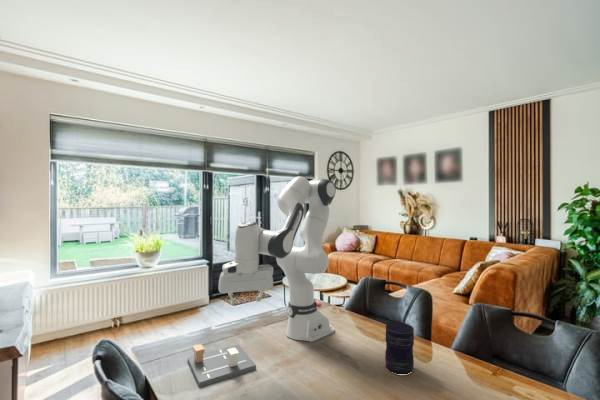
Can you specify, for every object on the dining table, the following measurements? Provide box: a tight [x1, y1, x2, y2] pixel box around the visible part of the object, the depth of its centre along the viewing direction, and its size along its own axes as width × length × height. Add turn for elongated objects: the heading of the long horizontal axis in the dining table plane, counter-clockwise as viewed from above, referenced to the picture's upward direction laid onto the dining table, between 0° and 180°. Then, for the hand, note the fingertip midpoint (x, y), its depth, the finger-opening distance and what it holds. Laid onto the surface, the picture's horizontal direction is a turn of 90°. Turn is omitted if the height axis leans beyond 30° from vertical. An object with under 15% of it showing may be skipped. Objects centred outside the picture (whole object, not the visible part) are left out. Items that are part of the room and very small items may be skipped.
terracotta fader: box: [192, 343, 205, 363], centre depth 116 cm, size 3×4×5 cm
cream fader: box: [227, 347, 239, 367], centre depth 113 cm, size 3×4×5 cm
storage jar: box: [384, 321, 415, 374], centre depth 114 cm, size 10×10×15 cm
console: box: [187, 344, 257, 388], centre depth 115 cm, size 20×18×2 cm
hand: (246, 302), depth 117 cm, fingers open, 8 cm apart
